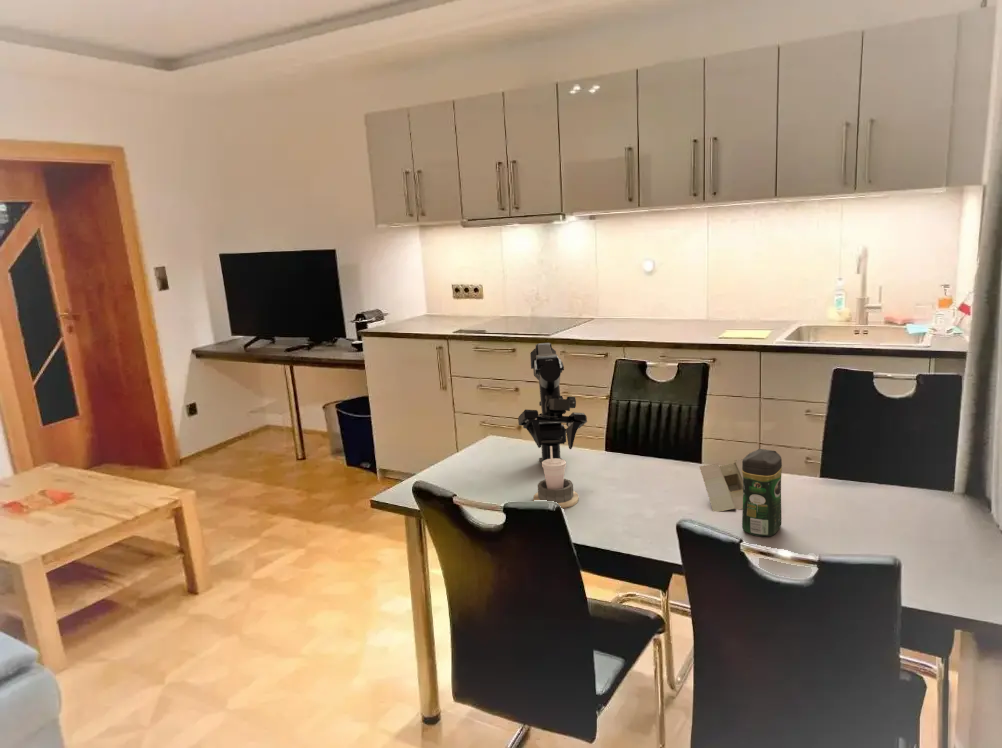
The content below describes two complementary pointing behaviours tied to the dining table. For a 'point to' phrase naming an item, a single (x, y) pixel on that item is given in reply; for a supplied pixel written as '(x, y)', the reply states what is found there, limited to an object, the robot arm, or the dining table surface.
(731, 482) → the open cardboard box
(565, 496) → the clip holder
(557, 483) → the smoothie
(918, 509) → the dining table surface
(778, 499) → the coffee jar
